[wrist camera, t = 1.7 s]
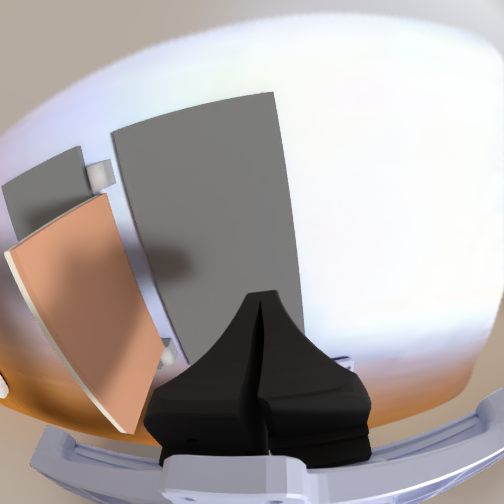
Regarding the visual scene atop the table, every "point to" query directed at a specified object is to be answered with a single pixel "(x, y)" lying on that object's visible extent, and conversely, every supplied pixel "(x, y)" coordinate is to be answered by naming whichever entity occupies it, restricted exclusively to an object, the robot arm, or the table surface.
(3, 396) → the plastic lid
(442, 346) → the table surface
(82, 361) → the flap
